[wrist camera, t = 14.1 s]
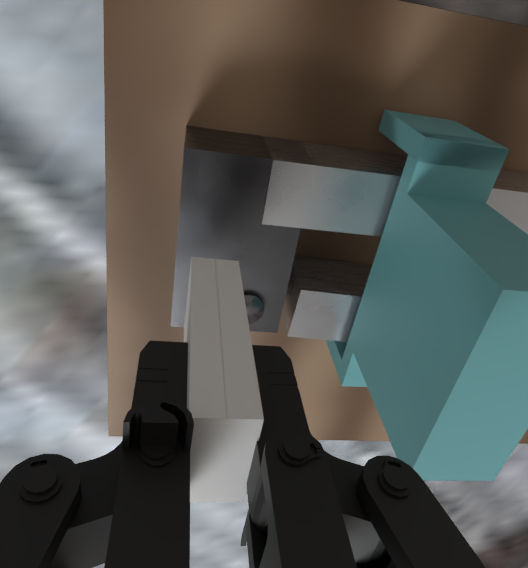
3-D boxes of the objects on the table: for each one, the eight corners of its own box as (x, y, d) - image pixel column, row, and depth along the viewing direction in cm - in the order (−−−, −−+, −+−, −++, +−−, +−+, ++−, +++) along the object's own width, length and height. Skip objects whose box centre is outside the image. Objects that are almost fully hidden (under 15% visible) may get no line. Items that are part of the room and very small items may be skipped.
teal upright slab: (321, 329, 24) (388, 517, 15) (384, 109, 18) (541, 213, 10) (377, 333, 24) (470, 515, 16) (454, 120, 19) (659, 228, 10)
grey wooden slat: (277, 297, 23) (287, 336, 20) (289, 254, 21) (301, 289, 19) (616, 335, 27) (659, 371, 24) (642, 300, 25) (690, 335, 23)
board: (112, 419, 27) (108, 436, 26) (109, -57, 16) (102, -60, 15) (554, 430, 33) (565, 444, 32) (798, 82, 21) (828, 87, 20)
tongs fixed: (174, 287, 22) (170, 329, 19) (186, 125, 18) (184, 149, 15) (625, 321, 26) (673, 359, 24) (710, 197, 23) (780, 226, 20)
